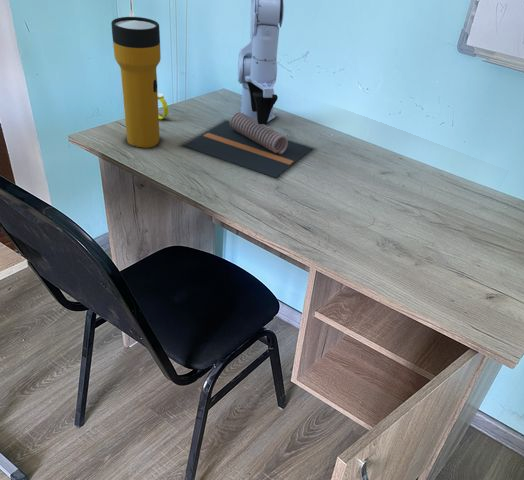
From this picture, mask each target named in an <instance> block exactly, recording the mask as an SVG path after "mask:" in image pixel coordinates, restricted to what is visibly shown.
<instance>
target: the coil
mask: <svg viewBox="0 0 524 480" xmlns="http://www.w3.org/2000/svg"><path fill="white" fill-rule="evenodd" d="M229 122H230V127H231V129H233V130H235V131H237V132H238V133H240V134H242V135H244V136H245V137H247V138H249V139H251V140H252V141H255V142H256V143H258V144H260V145H261V146H263V147H265V148H267V149H268V150H271V151H272V152H274V153H279V155H281V154H283V153H284V152H285V150H286V148H287V145H288V141H289V140H288V138H287V136H286V135H285V134H283V133H281V132H279V131H277V130H275V129H273V128H271V127H269V126H268V125H267V124H258V121H256V120H254V119H252V118H250V117H249V116H247V115H245V114H243V113H241V111H237V112H234V113H233V114H232V115H231V117H230V119H229Z"/></svg>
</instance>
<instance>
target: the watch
mask: <svg viewBox="0 0 524 480" xmlns="http://www.w3.org/2000/svg"><path fill="white" fill-rule="evenodd" d="M158 101H160V103H161V105H162V109H163V114H162V115H160V114H158V115H159V120H160V121H162V120H164V119H166V118H167V117H168V114H169V106H168V103H167V101H166V99H165V97H164V94H163V93H161V92H158Z"/></svg>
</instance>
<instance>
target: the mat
mask: <svg viewBox="0 0 524 480" xmlns="http://www.w3.org/2000/svg"><path fill="white" fill-rule="evenodd" d="M182 146H183V147H185V148H187V149H190V150H193V151H196V152H199V153H202V154H205V155H208V156H209V157H213V158H216V159H219V160H222V161H225V162H228V163H231V164H234V165H237V166H240V167H243V168H245V169H249V170H252V171H254V172H257V173H260V174H263V175H266V176H269V177H271V178H275V179H277V178H278V177H279V176H281V175H282V174H283V173H284V172H286V171H287V170H288V169H290V168H291V167H292V166H293V165H295V164H296V163H297V162H299V160H301V159H302V158H303V157H305V156H306V155H307V154H308V153H310V152H311V151H312V150H313V149H314V148H313V147H310V146H308V145H307V146H306V145H303V144H300V143H298V142H294V141H291V140H288V145H287V148H286V150H285V152H284V153H283V154H281V155H279V153H274V152H272V151H271V150H268V149H267V148H265V147H263V146H261V145H260V144H258V143H256V142H255V141H252V140H251V139H249V138H247V137H245V136H244V135H242V134H240V133H238V132H237V131H235V130H233V129H231V127H230V121H228V120H225V121H223V122H222V123H221V124H219V125H217V126H215V127H213V128H212V129H209V130H207V131H206V132H204V133H203V134H201V135H199V136H198V137H195V138H194V139H192V140H190V141H188V142H187V143H185V144H183V145H182Z"/></svg>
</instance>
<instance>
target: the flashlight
mask: <svg viewBox="0 0 524 480" xmlns="http://www.w3.org/2000/svg"><path fill="white" fill-rule="evenodd" d="M110 26H111V35H112V45H113V53H114V54H113V55H114V60H115V61H116V63H117V64H118V66H119V67H120V76H121V87H122V88H121V89H122V97H123V99H122V100H123V109H124V119H125V120H124V121H125V130H126V131H125V133H126V139H127V140H126V141H127V143H128V145H130V146H133V147H137V148H143V149H144V148H145V149H149V148H153V147H155V146H157V145H158V143H159V142H160V121H159V120H160V119H159V115H160V114H159V99H158V93H159V92H158V91H159V90H158V76H157V75H158V73H157V67H158V65H159V64H160V62H161V59H162V57H161V55H162V54H161V35H160V33H161V32H160V24H159V22H158V21H156V20H154V19H151V18H146V17H142V16H121V17H117V18H114V19H113V20H111V25H110Z"/></svg>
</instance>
